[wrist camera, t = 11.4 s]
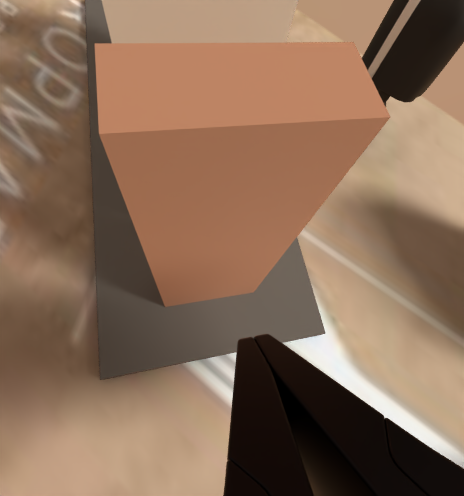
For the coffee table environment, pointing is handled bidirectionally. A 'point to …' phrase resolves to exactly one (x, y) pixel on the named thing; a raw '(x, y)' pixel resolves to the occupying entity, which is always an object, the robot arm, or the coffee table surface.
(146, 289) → the domino mat
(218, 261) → the terracotta domino
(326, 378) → the robot arm
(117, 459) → the coffee table surface
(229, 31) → the ivory domino
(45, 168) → the coffee table surface
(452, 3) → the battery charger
